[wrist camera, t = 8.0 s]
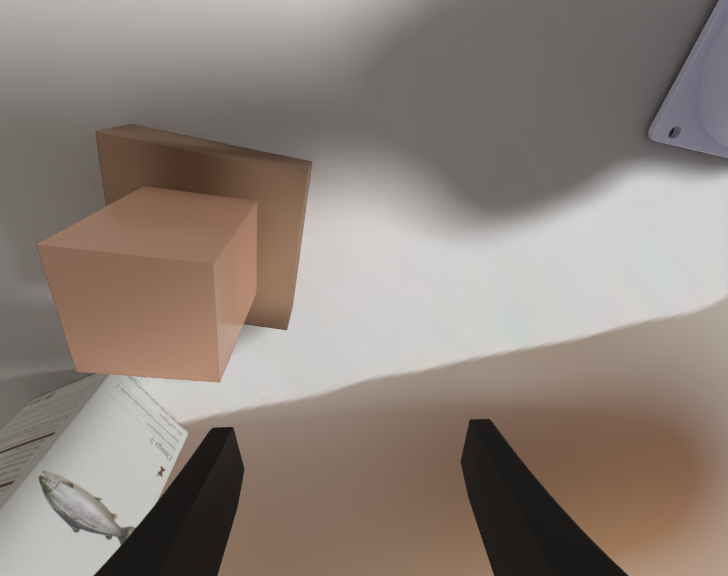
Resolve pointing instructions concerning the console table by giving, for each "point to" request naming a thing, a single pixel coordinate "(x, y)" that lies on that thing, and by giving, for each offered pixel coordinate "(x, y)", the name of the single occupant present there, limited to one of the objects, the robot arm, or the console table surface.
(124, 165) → the walnut block
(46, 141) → the console table surface
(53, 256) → the cube
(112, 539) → the supplement box
